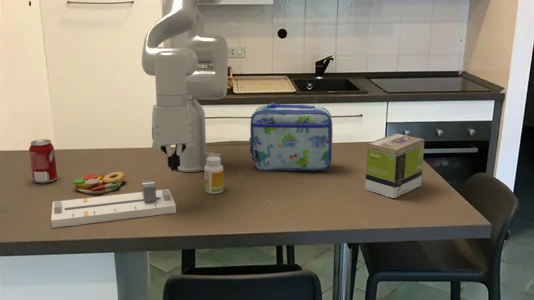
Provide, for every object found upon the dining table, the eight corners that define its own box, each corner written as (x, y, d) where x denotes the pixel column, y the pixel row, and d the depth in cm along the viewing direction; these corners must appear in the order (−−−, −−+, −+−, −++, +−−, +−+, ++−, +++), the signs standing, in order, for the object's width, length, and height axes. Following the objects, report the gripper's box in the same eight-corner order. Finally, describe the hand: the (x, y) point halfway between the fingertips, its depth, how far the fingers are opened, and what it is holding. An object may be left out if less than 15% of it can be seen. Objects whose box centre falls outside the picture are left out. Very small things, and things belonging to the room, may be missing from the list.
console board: (168, 195, 150) (168, 184, 149) (176, 212, 139) (175, 200, 138) (53, 208, 140) (52, 196, 139) (51, 228, 129) (50, 214, 128)
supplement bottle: (226, 188, 155) (226, 156, 152) (219, 195, 150) (218, 162, 148) (209, 186, 157) (209, 154, 154) (201, 192, 152) (200, 160, 149)
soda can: (49, 185, 156) (44, 145, 153) (28, 183, 158) (23, 144, 154) (62, 177, 163) (57, 139, 159) (41, 175, 164) (37, 138, 160)
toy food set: (130, 181, 161) (129, 171, 160) (110, 197, 149) (110, 187, 148) (89, 178, 163) (88, 168, 162) (66, 194, 151) (65, 183, 150)
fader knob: (153, 193, 144) (153, 179, 143) (156, 200, 140) (155, 185, 139) (142, 195, 143) (141, 180, 142) (144, 202, 139) (143, 187, 138)
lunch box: (248, 171, 169) (247, 106, 163) (252, 161, 180) (252, 99, 173) (331, 175, 167) (334, 109, 161) (330, 164, 177) (333, 102, 171)
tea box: (392, 178, 165) (396, 131, 161) (421, 187, 158) (426, 138, 154) (363, 190, 155) (366, 141, 151) (393, 200, 148) (397, 149, 144)
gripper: (197, 96, 142) (199, 163, 147) (139, 99, 137) (143, 167, 142) (203, 101, 135) (205, 171, 140) (143, 104, 130) (146, 176, 135)
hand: (174, 169), depth 141 cm, fingers closed
